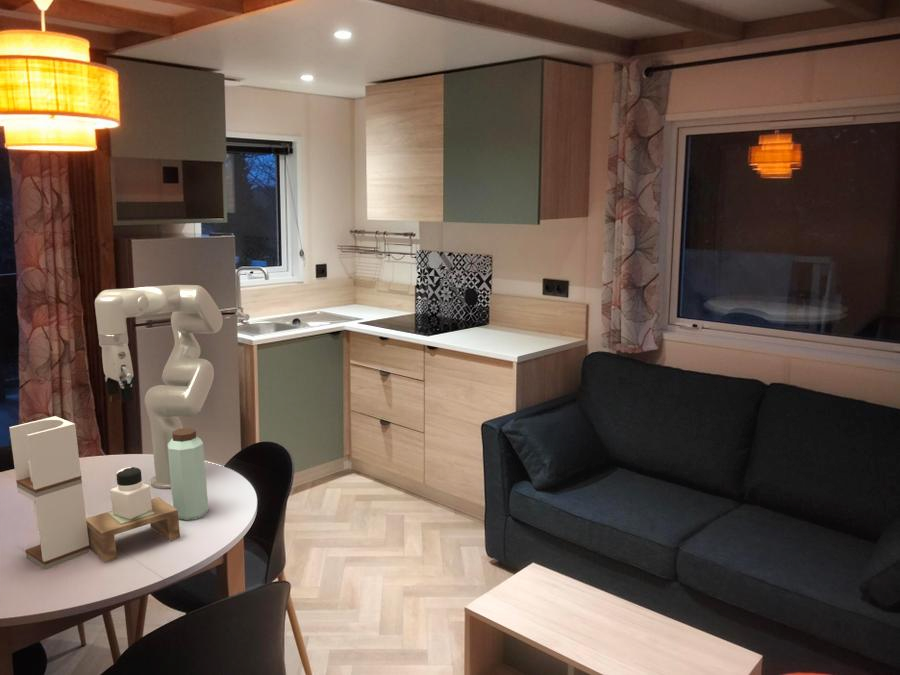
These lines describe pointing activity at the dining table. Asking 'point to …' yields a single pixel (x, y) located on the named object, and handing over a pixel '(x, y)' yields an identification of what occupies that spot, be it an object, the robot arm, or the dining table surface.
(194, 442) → the water bottle
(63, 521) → the white tower
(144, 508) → the medicine bottle
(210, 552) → the dining table surface
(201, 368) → the robot arm
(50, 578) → the dining table surface
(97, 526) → the bench shelf
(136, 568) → the dining table surface
